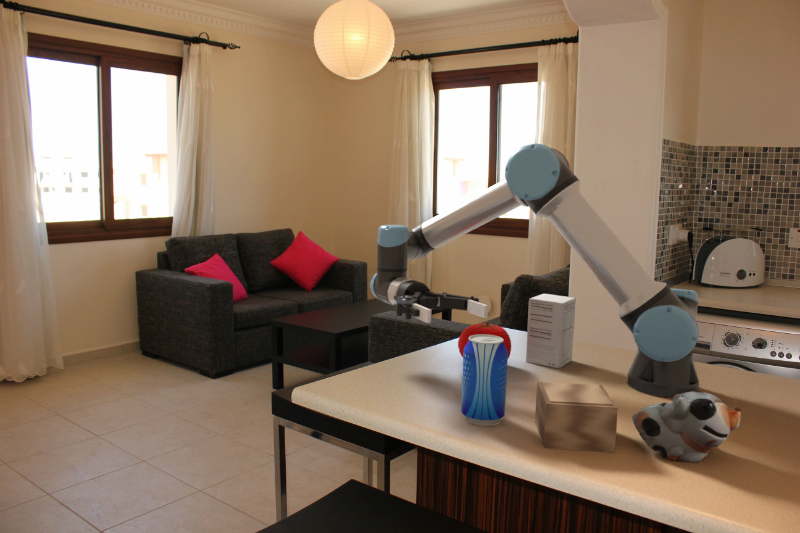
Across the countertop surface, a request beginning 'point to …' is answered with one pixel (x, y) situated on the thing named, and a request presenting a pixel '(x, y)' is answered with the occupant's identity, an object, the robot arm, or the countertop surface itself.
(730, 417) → the lucky cat figurine
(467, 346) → the beer can
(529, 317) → the supplement box
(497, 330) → the tomato
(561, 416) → the block
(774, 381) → the countertop surface
